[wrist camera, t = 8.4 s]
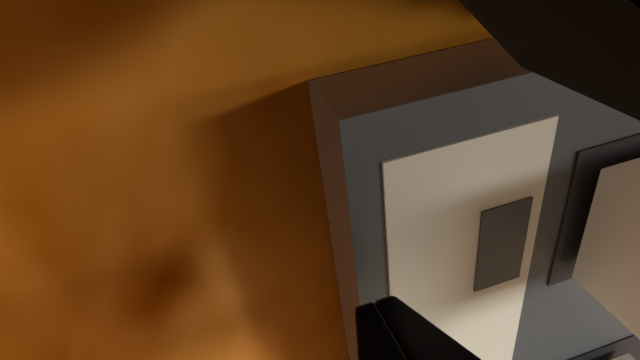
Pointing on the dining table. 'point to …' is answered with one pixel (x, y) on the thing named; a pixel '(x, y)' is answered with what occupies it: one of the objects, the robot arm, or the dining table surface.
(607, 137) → the switch bank
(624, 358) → the tab
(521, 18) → the security camera
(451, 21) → the dining table surface
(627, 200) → the tab
